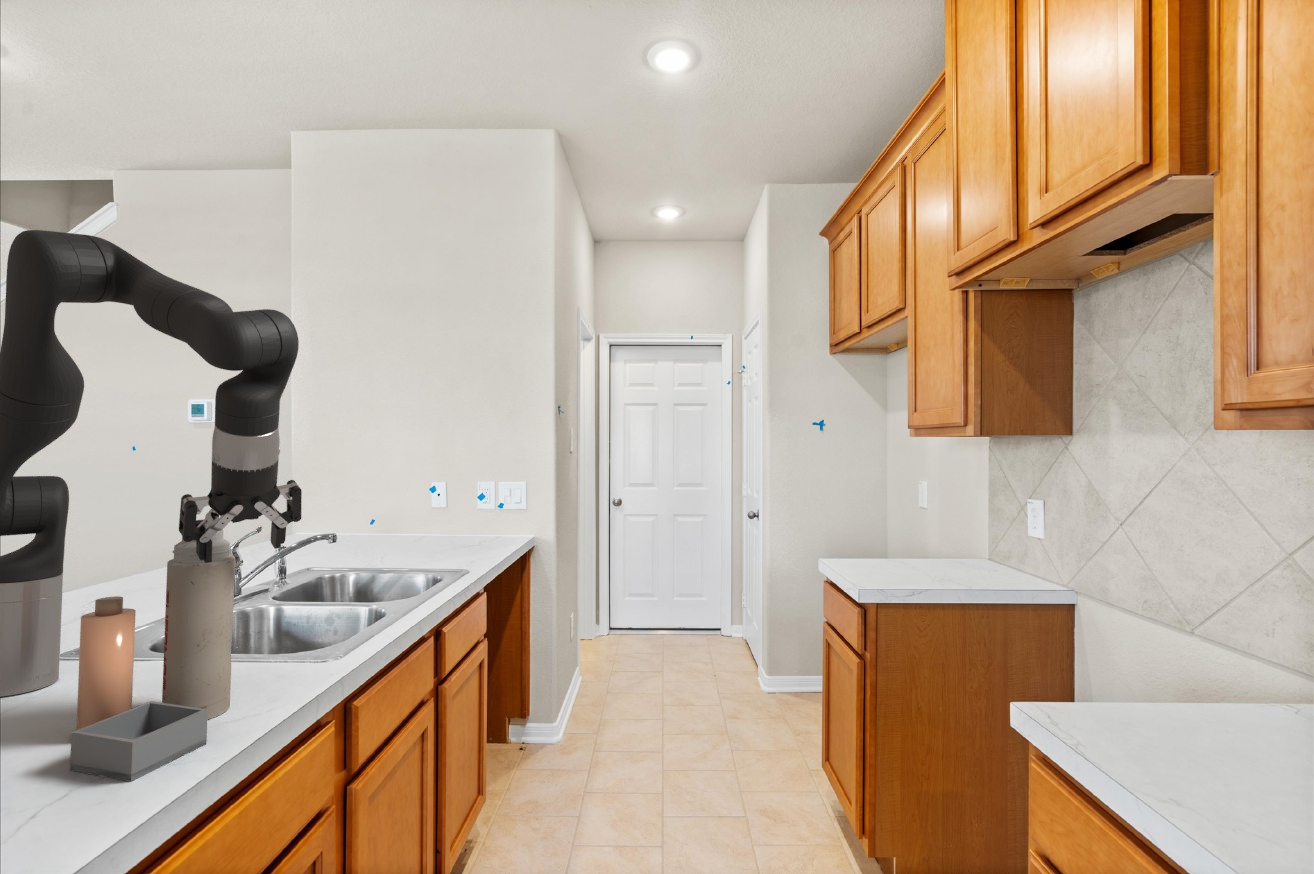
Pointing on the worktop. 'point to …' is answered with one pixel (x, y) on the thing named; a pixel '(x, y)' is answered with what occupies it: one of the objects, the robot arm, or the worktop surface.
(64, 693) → the worktop surface
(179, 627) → the thermos bottle
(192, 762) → the worktop surface
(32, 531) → the robot arm
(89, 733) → the bin
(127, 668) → the oil bottle
